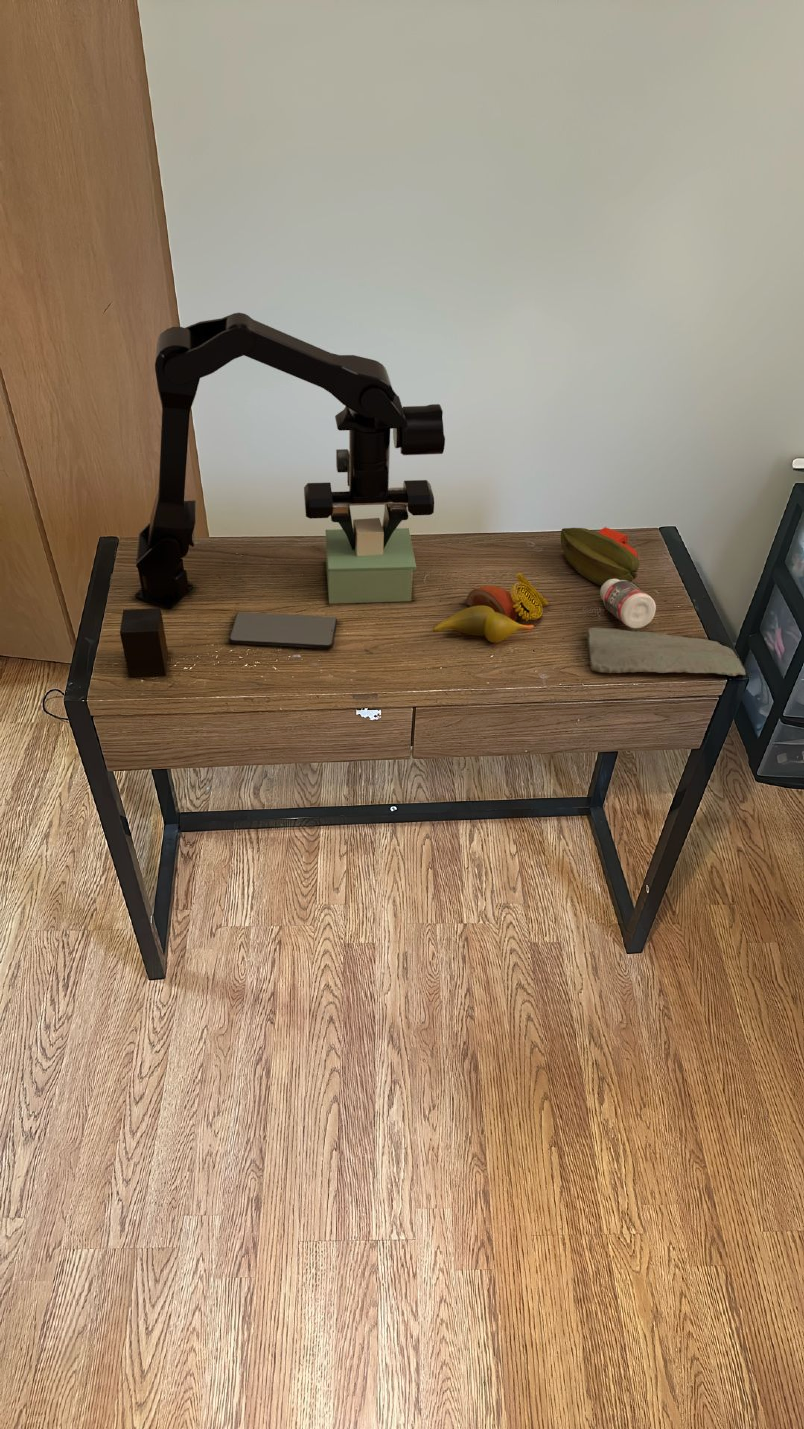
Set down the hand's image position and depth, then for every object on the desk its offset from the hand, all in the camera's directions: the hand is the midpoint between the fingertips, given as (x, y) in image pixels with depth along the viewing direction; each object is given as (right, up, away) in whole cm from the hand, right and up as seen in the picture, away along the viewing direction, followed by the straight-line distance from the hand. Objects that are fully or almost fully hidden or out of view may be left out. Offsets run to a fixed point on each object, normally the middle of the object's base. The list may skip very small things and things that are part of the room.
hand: (367, 547), depth 147 cm
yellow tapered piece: (+16, -10, -3) cm, 19 cm away
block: (0, 0, 0) cm, 0 cm away
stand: (-30, -19, -12) cm, 37 cm away
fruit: (+39, +1, +8) cm, 40 cm away
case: (0, -5, +4) cm, 6 cm away
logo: (+25, -6, +1) cm, 26 cm away
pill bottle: (+40, -11, -7) cm, 42 cm away
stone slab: (+43, -13, -3) cm, 45 cm away
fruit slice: (+21, -6, -2) cm, 22 cm away
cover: (0, 0, 0) cm, 1 cm away
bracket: (+38, +1, +10) cm, 39 cm away
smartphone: (-12, -14, -6) cm, 19 cm away
